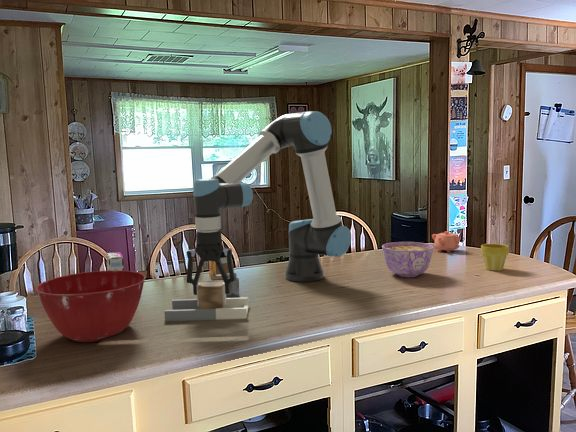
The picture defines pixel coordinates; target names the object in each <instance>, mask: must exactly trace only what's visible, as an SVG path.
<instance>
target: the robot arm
mask: <svg viewBox="0 0 576 432" xmlns="http://www.w3.org/2000/svg"><path fill="white" fill-rule="evenodd" d="M332 132H333V130H332V125H331V121H330V120H329V118H328V117H327V116H326V115H325V114H324V113H322V112H321V111H317V110H316V111H315V110H314V111H312V110H308V111H300V112H295V113H294V112H293V113H291V112H290V113H286V114H283V115H281V116H279V117H277V118H276V119H274V120H273V121H271V122H270V123H269V124H268V125H266V126H265V127H264V128H263V129H262V130H261V131H259V133H258V137H256V138H255V140H254V141H252V142H251V143H250V144H249V145H248V146H246V148H244V149H243V150H242V151H240V152H239V153H238V154H237V155H236V156H235V157H234V158H233V159H232V160H231V161H229V162H228V163H227V164H226V165H225V166H223V168H221V169H220V170H218V172H217V173H215V174H214V175H213V176H212V177H211V178H201V179H200V178H199V179H198V178H197V179H196V180H194V182H193V191H192V195H193V202H194V215H195V216H194V219H195V220H194V221H195V223H194V224H195V231H196V232H195V238H196V239H195V240H196V242H195V243H196V246H195V248H194V249H188V250H187V251H186V257H187V269H186V270H187V272H186V283H187V284H192V288H193V289H192V291H193V293H192V294H193V295H194V296H196V299H197V304H198V306H199V301H198V290H197V287H198V286H199V285H200V283H201V282H199V279H200V276H201V273H202V271H203V267H204V264H205V262H209V261H215V263H216V264H217V267H218V269H219V271H220V274H221V276H222V278H223V280H224V282H223V284H222V293H223V305H226V294H229V283H230V282H233V281H234V279H235V275H234V273H235V270H234V265H233V259H232V254H233V249H232V248H230V247H224V246H223V242H222V231H221V228H222V223H221V222H222V219H221V210H224V209H235V208H243V207H247V206H249V205H251V203H252V202H253V199H254V195H253V194H254V193H253V189H252V187H251V185H250V184H248V183H247V182H242V181H243V180H244V179H245V178H247V177H248V176H249V175H250V174H251V173H252V172H253V171H254V170H255V169H257V167H259V166H260V165H261V164H262V163H263V162H264V161H266V160H267V159H268V157H270V156H271V155H272V154H277V153H279V152H280V150H282V149H285V148H288V147H293V148H294V153H295V154H296V155H297V156H299V157H300V160H301V165H302V169H303V175H304V179H305V184H306V189H307V194H308V198H309V204H310V208H311V212H312V217H313V218H310V219H300V220H293V221H291V222H290V223H289V225H288V234H287V235H288V252H289V253H288V255H289V259H288V262H287V266H286V269H285V275H284V276H285V279H286V280H288V281H292V282H315V281H319V280H322V279H323V278H324V269H323V267H322V263H321V261H320V257H319V255H320V256H321V255H322V256H326V257H331V258H332V257H335V258H339V257H342V256H344V255H345V254H346V253H347V251H348V250H349V248H350V246H351V243H352V233H351V230H350V229H349V228H348V227H347V226H346V225H344V224H343V220H342V217H341V216H339V215H337V211H336V206H335V200H334V195H333V191H332V190H333V189H332V184H331V180H330V179H331V178H330V175H329V170H328V165H327V159H326V153H325V151H326V150H327V149H328V143H329V141H330V139H331V136H332ZM227 248H229V249H227ZM222 252H224V253H225V256H227V264H228V270H229V276H230V277H229V278H228V276H227V274H226V271H225V269H224V267H223V264H222V262H221V259H220V257H219V256H220V255H221V253H222ZM196 254H197V256H198V257H199V261H198V265H197V269H196V272H195V274H194V278H193V269H194V268H193V267H194V257H195V255H196Z"/></svg>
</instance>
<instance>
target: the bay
mask: <svg viewBox="0 0 576 432" xmlns="http://www.w3.org/2000/svg"><path fill="white" fill-rule="evenodd" d="M171 303H172V304H171V306H172V307H171V308H172V309H164V321H165V322H182V321H183V322H185V321H186V322H189V321H216V320H219V321H220V320H245V319H246V320H247V318H248V313H249V307H250V304H249V303H250V300H249V296H246V297H241V298H226V305H225V307H224V308H214V309H199V306H198V304H197V298H188V299H187V298H186V299H185V298H184V299H183V298H182V299H172V300H171Z"/></svg>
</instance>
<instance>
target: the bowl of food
mask: <svg viewBox="0 0 576 432" xmlns="http://www.w3.org/2000/svg"><path fill="white" fill-rule="evenodd" d="M381 248H382V253H383V256H384V261H385V264H386V265H385V266H386V267H387V268H388V270H389V271H390V272H392V273H393V274H396V275H397V276H398V277H402V278H415V277H417V276H419V275H421V274H423V273H425V272H426V271H427V270H428V268H429V266H430V263H431V260H432V255H433V252H434V249H435V246H433V245H432V244H430V243H424V242H417V241H416V242H415V241H395V242H388V243H384V244H382V245H381Z"/></svg>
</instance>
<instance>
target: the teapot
mask: <svg viewBox="0 0 576 432" xmlns="http://www.w3.org/2000/svg"><path fill="white" fill-rule="evenodd" d="M431 237H432V240H434V244H433V245H434V249H435V250H437V252H440V253H441V252H443V251H446V253H448V254H452V252H456V250H457V249H459V248H460V245H459V243H460V241H461V238H460V236H459V235H458V234H457V233H452V232H451V233H450V231H448V230H447V231H444V232H440V233H437V234H436V233H433V234H431Z"/></svg>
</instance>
